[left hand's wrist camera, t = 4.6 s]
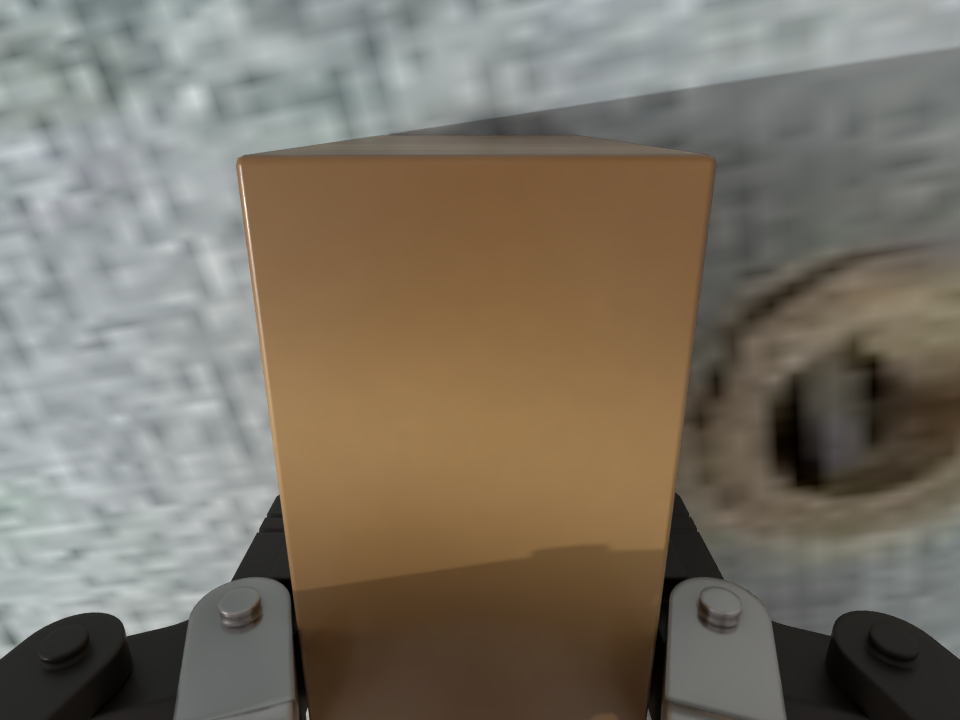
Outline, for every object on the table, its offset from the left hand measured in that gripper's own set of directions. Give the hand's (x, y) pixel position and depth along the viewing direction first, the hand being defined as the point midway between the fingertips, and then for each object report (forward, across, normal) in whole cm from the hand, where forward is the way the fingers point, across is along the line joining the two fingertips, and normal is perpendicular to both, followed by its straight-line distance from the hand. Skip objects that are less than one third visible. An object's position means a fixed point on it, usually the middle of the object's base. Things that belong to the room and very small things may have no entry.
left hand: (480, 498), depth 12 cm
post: (+4, 0, -21) cm, 22 cm away
